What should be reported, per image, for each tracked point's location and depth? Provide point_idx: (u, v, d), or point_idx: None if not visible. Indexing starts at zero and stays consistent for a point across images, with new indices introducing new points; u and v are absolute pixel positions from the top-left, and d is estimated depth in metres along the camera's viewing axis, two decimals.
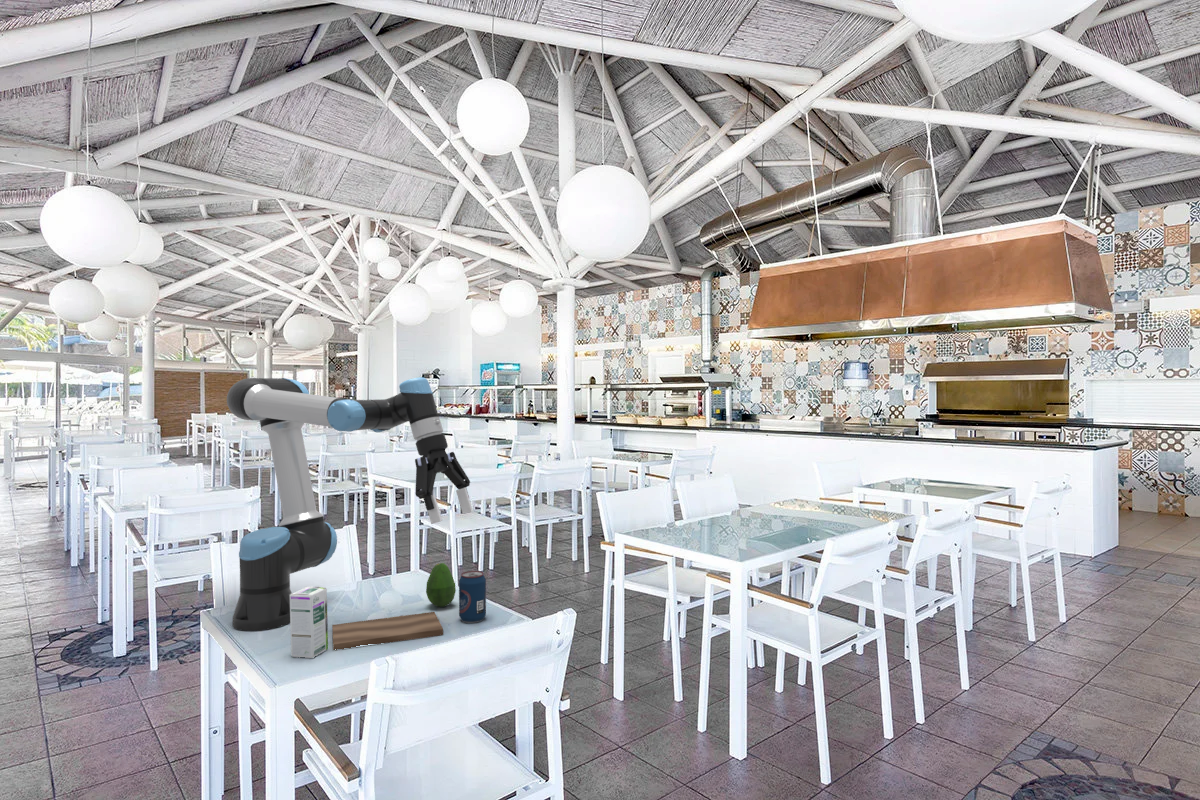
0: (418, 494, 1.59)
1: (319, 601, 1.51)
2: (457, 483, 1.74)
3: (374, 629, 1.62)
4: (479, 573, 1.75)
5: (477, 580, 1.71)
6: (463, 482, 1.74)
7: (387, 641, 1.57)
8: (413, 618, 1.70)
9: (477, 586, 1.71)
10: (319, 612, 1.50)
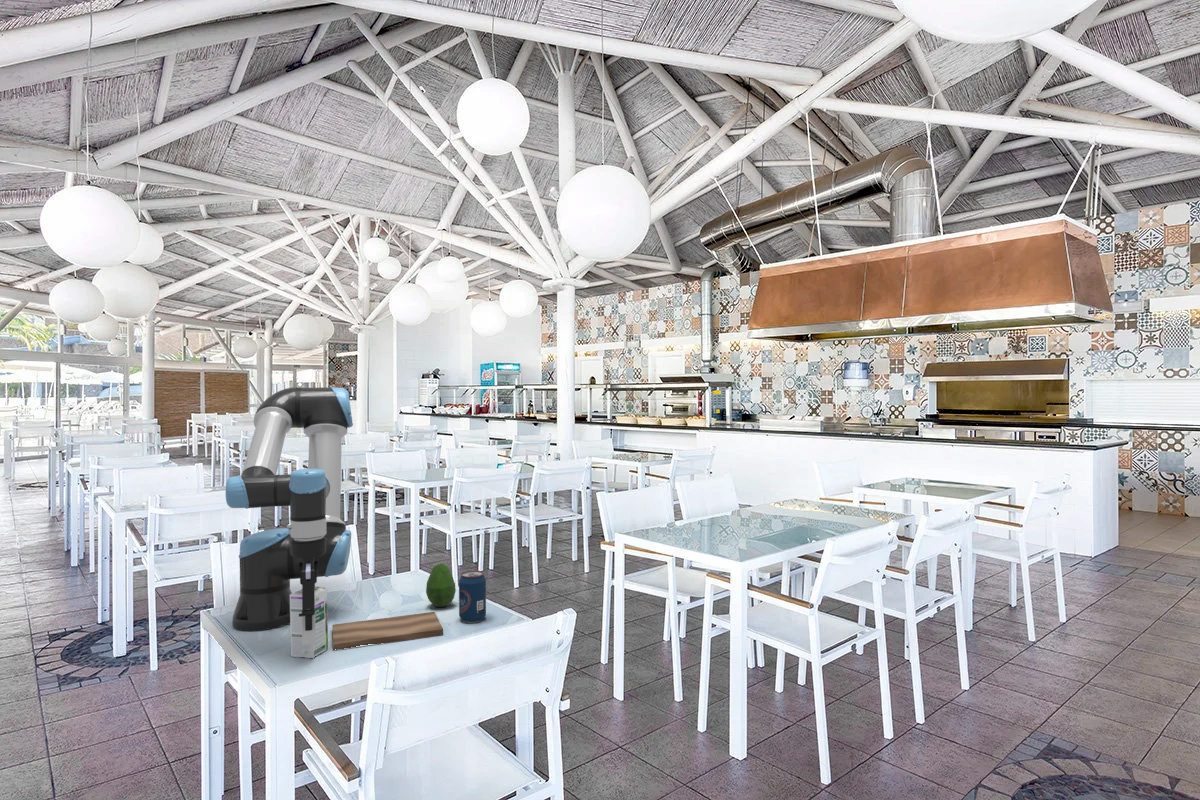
0: None
1: (319, 601, 1.51)
2: None
3: (374, 629, 1.62)
4: (479, 573, 1.75)
5: (477, 580, 1.71)
6: None
7: (387, 641, 1.57)
8: (413, 618, 1.70)
9: (477, 586, 1.71)
10: (319, 612, 1.50)
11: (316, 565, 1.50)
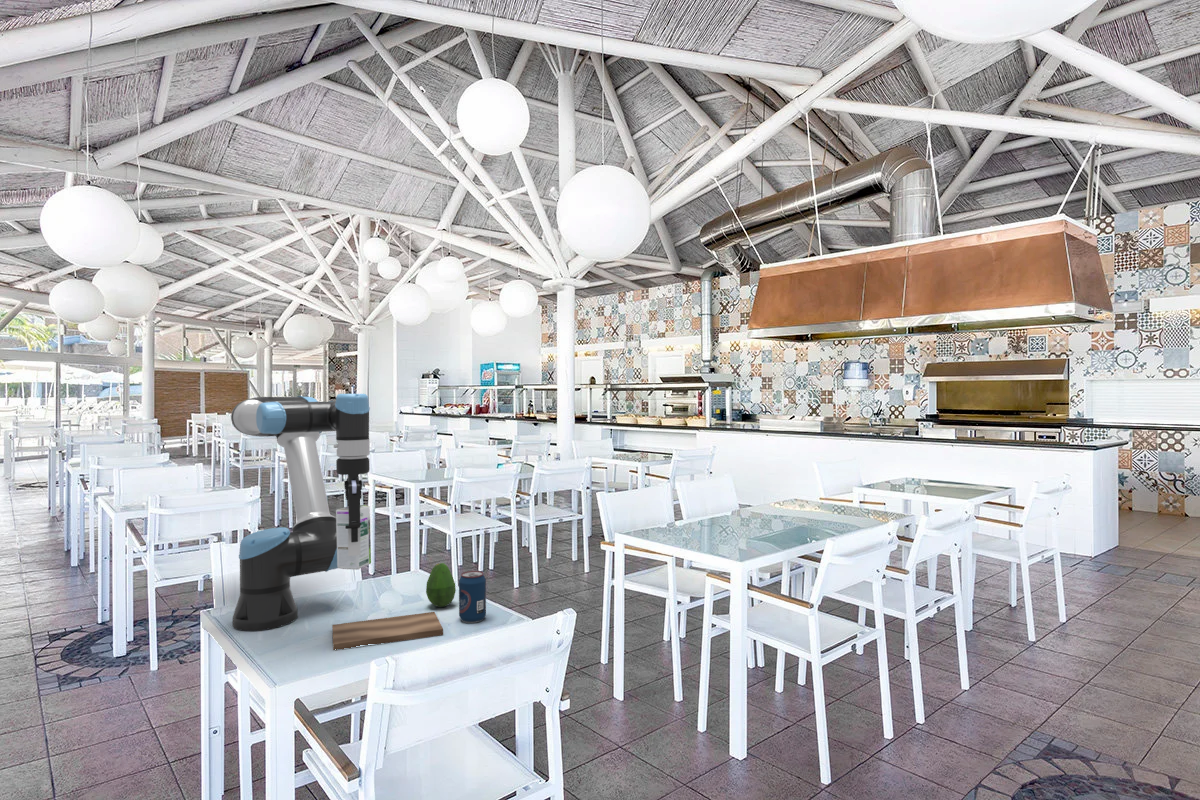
0: None
1: (363, 516, 1.60)
2: None
3: (374, 629, 1.62)
4: (479, 573, 1.75)
5: (477, 580, 1.71)
6: None
7: (387, 641, 1.57)
8: (413, 618, 1.70)
9: (477, 586, 1.71)
10: (363, 527, 1.60)
11: (360, 483, 1.60)
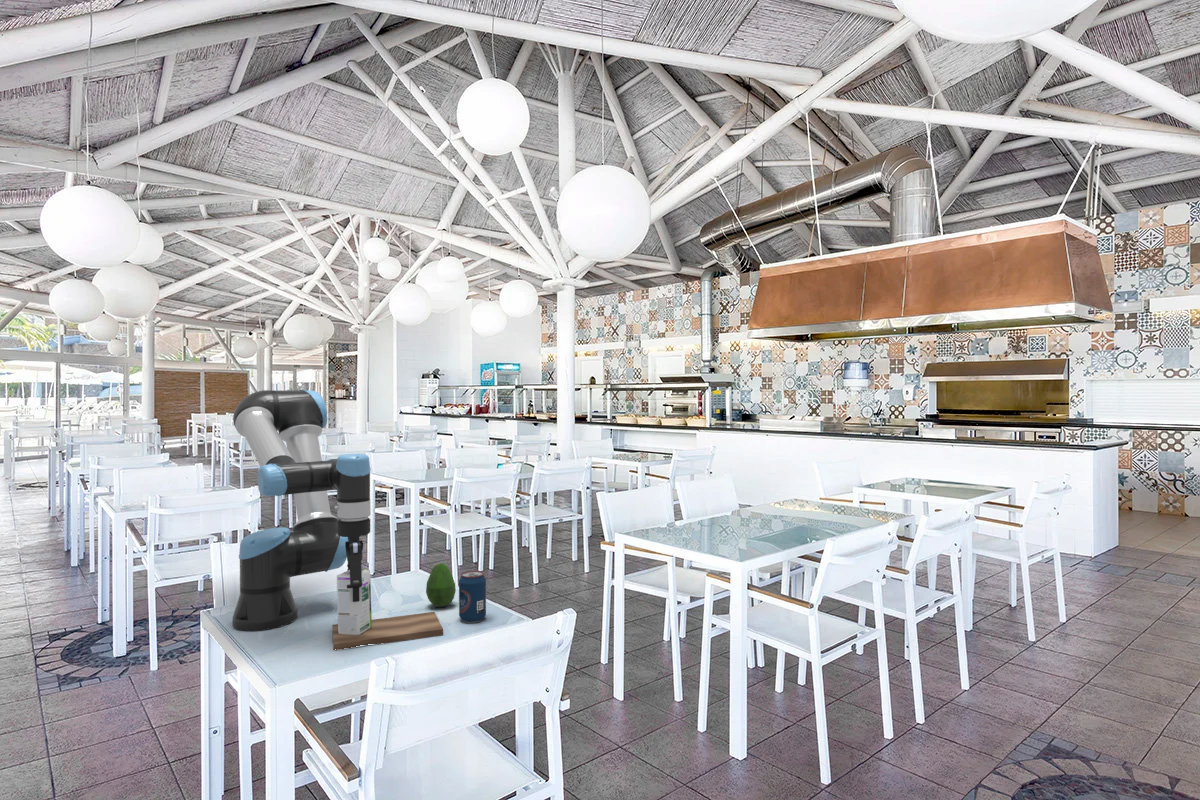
0: None
1: (364, 581, 1.60)
2: None
3: (374, 629, 1.62)
4: (479, 573, 1.75)
5: (477, 580, 1.71)
6: None
7: (387, 641, 1.57)
8: (413, 618, 1.70)
9: (477, 586, 1.71)
10: (364, 592, 1.60)
11: (361, 543, 1.60)
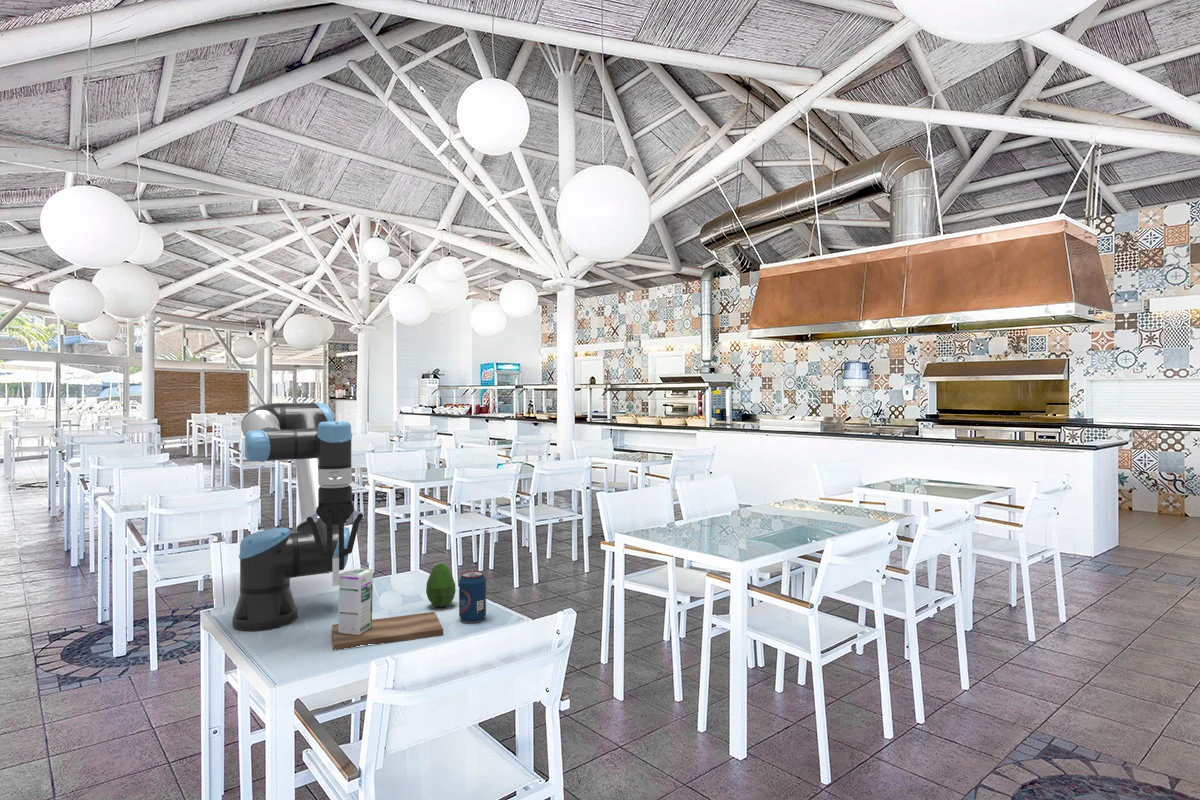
0: None
1: (366, 581, 1.61)
2: None
3: (374, 629, 1.62)
4: (479, 573, 1.75)
5: (477, 580, 1.71)
6: (341, 550, 1.59)
7: (387, 641, 1.57)
8: (413, 618, 1.70)
9: (477, 586, 1.71)
10: (366, 592, 1.60)
11: None
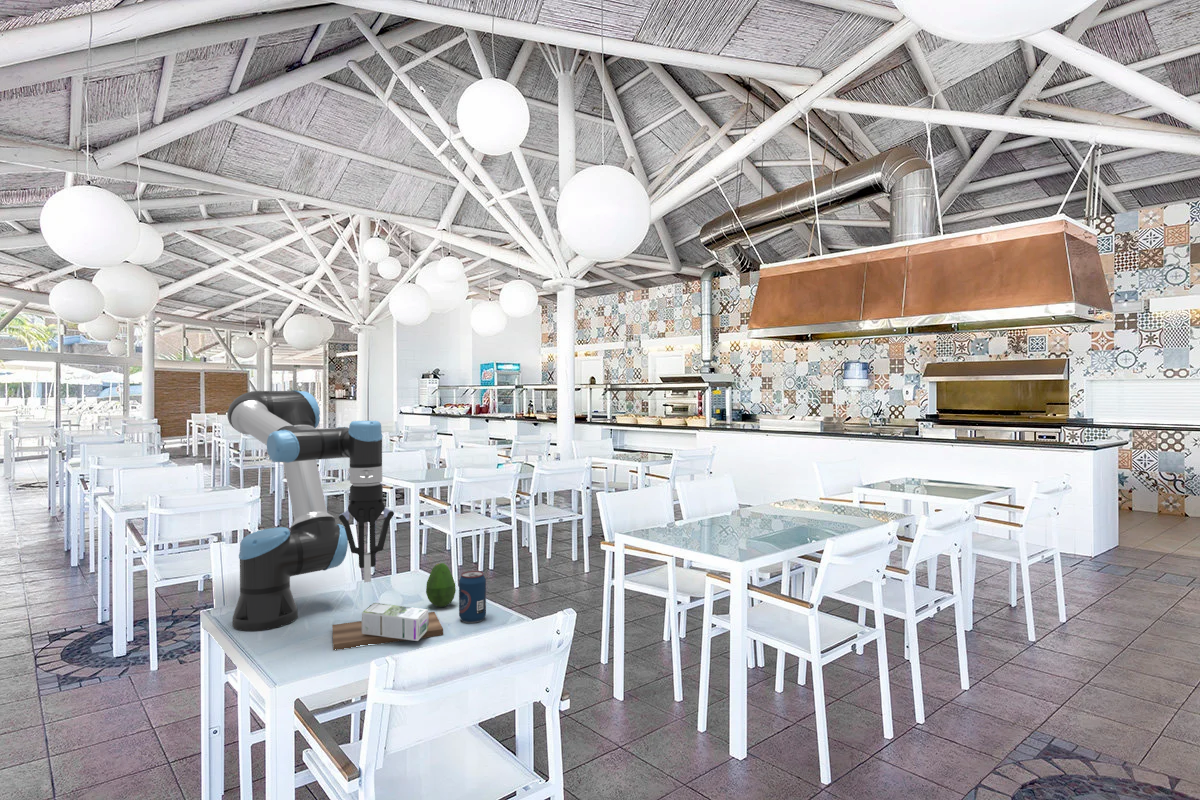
0: None
1: None
2: None
3: None
4: (479, 573, 1.75)
5: (477, 580, 1.71)
6: (372, 547, 1.61)
7: (387, 641, 1.57)
8: None
9: (477, 586, 1.71)
10: None
11: None
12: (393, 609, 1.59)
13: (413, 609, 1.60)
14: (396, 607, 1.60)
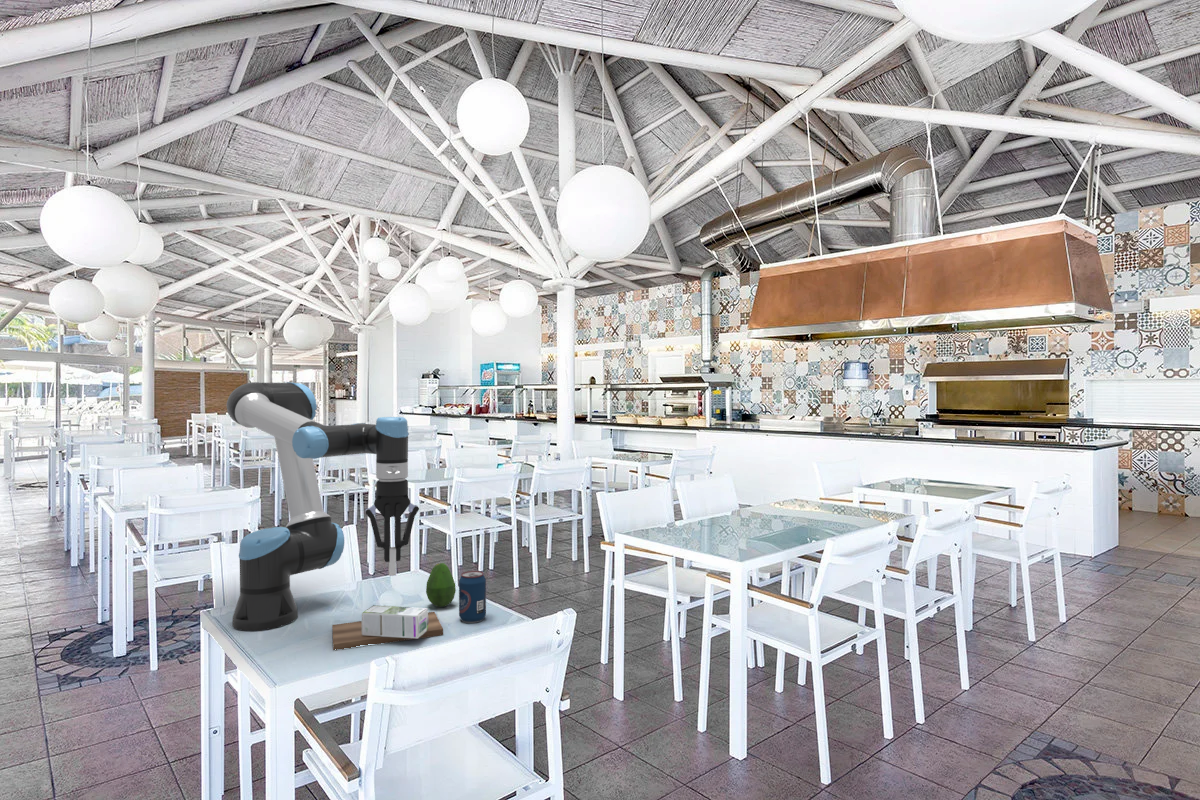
0: None
1: None
2: (395, 538, 1.65)
3: None
4: (479, 573, 1.75)
5: (477, 580, 1.71)
6: (397, 542, 1.64)
7: (387, 641, 1.57)
8: None
9: (477, 586, 1.71)
10: None
11: None
12: (393, 609, 1.59)
13: (413, 608, 1.60)
14: (396, 607, 1.61)
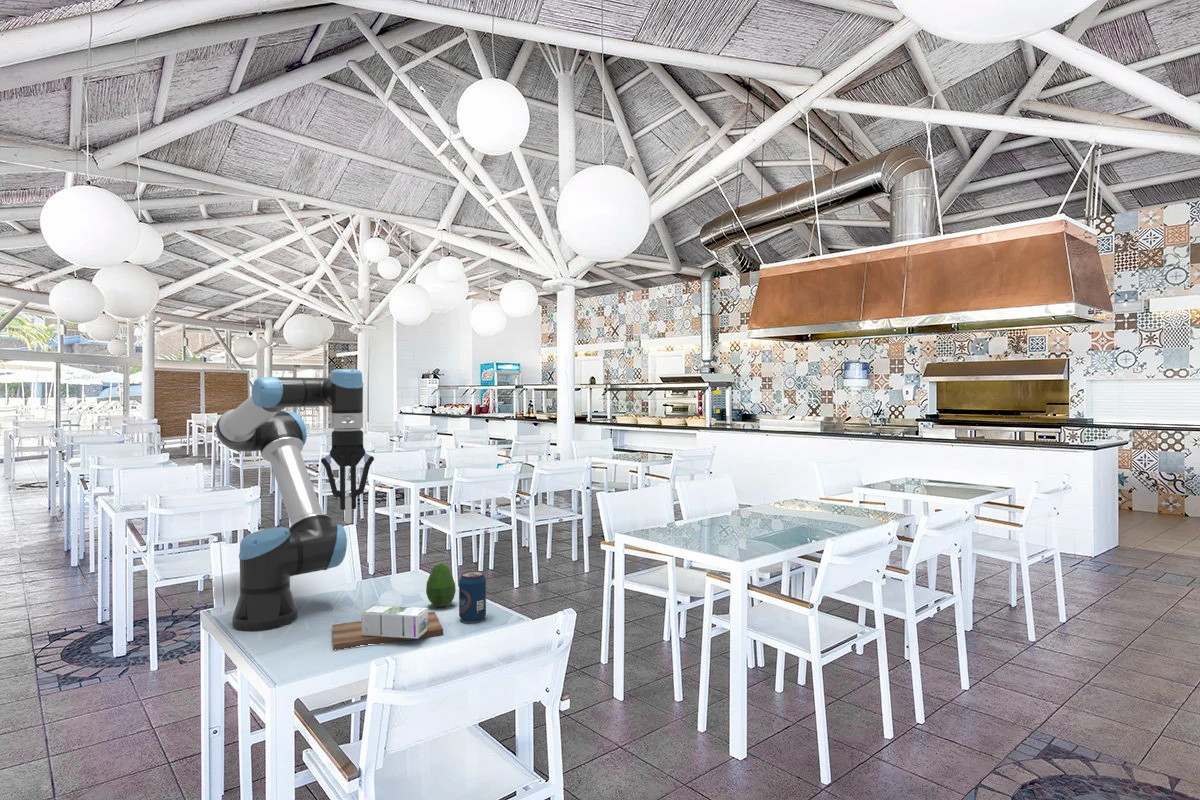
0: None
1: None
2: None
3: None
4: (479, 573, 1.75)
5: (477, 580, 1.71)
6: (353, 490, 1.69)
7: (387, 641, 1.57)
8: None
9: (477, 586, 1.71)
10: None
11: None
12: (393, 609, 1.59)
13: (413, 608, 1.60)
14: (396, 607, 1.61)
